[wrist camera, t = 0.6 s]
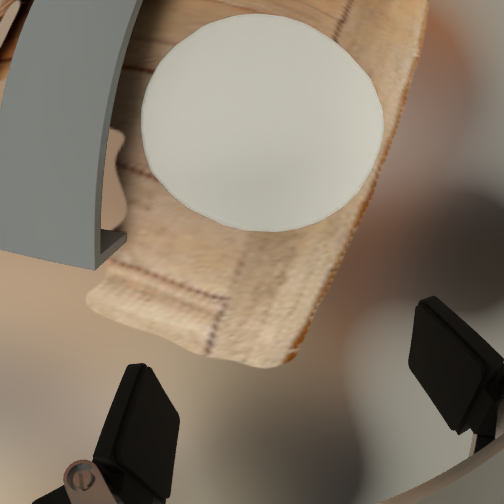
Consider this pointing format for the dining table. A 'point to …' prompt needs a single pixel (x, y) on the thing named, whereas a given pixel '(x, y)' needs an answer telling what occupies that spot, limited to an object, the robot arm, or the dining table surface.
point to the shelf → (61, 130)
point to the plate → (261, 123)
